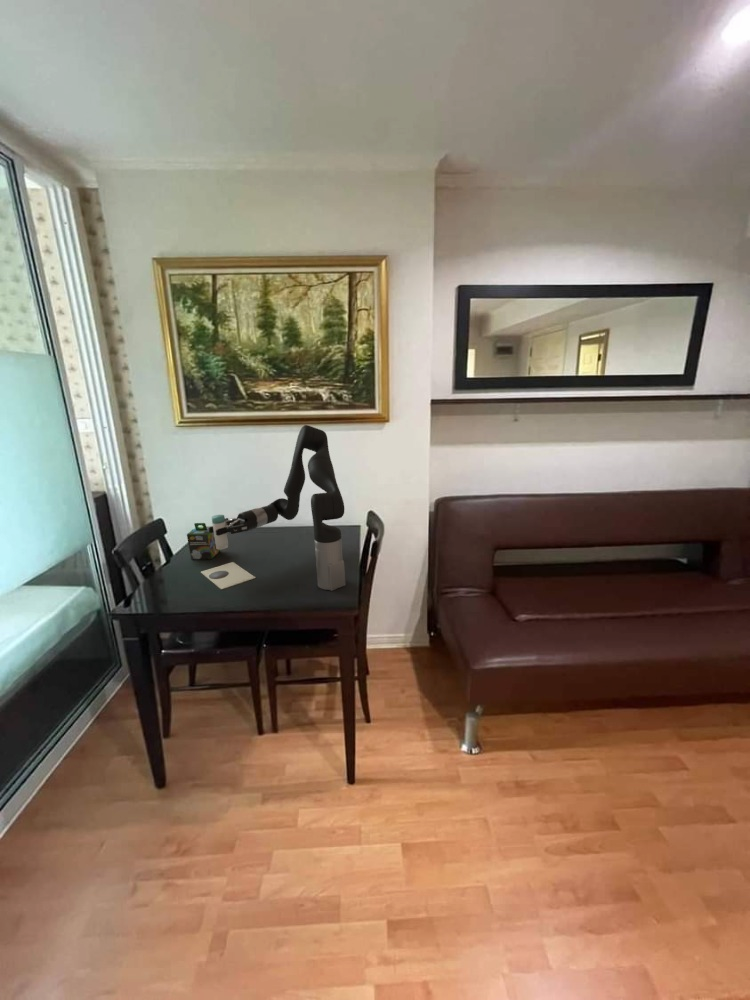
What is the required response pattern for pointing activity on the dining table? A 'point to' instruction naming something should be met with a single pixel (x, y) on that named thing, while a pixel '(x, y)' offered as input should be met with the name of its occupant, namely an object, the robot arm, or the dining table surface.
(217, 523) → the white bottle
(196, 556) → the chalk box
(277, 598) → the dining table surface
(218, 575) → the paper
